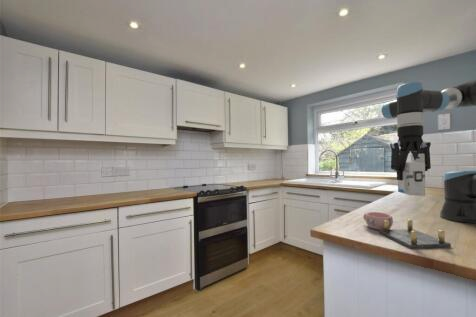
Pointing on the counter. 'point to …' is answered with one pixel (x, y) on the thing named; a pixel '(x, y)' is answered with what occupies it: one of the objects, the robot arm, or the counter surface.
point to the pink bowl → (377, 220)
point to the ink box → (415, 176)
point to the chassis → (414, 237)
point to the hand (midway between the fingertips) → (410, 188)
